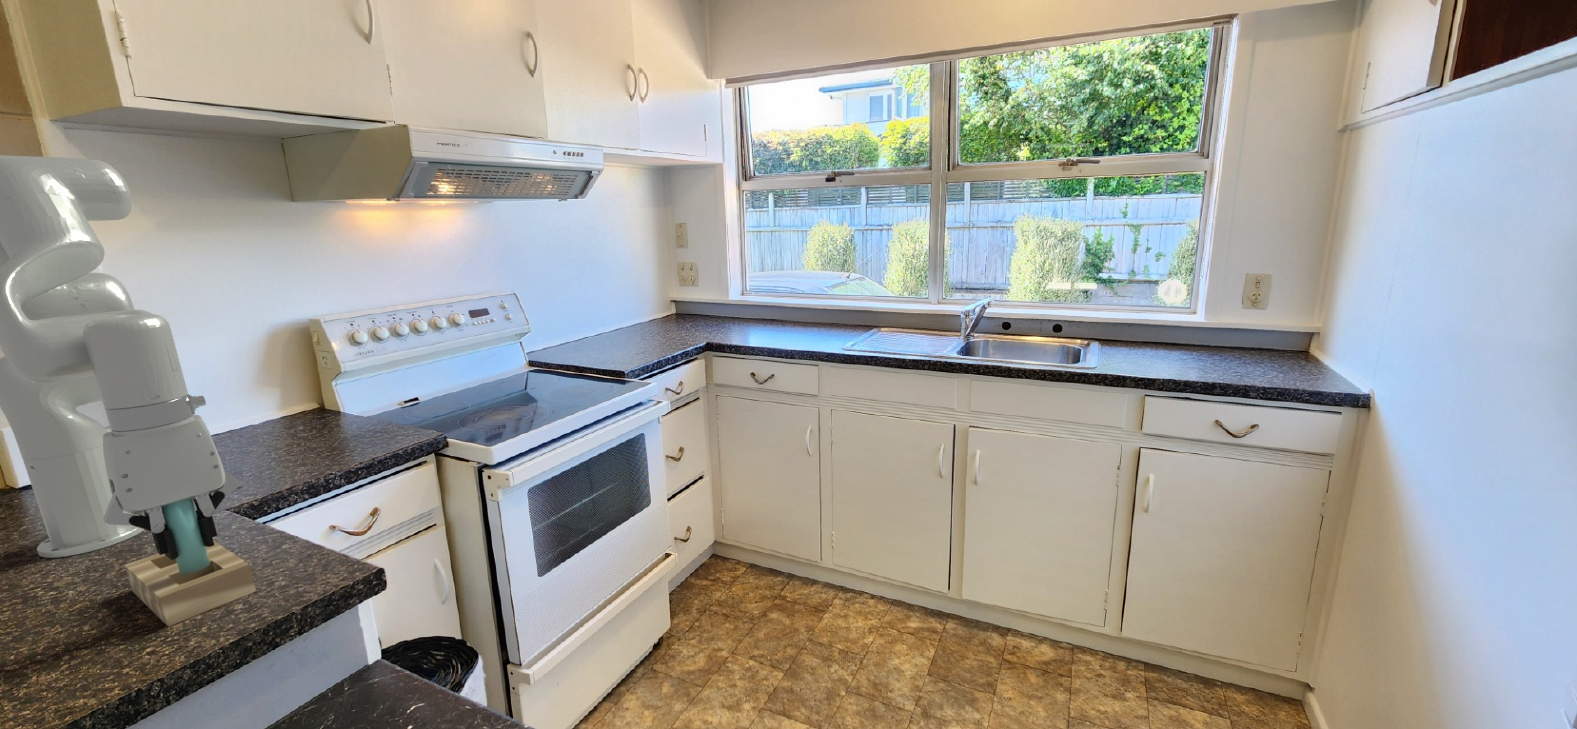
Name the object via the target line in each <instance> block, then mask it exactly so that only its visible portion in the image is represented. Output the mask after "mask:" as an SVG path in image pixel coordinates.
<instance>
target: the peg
mask: <svg viewBox="0 0 1577 729" xmlns="http://www.w3.org/2000/svg"><path fill="white" fill-rule="evenodd" d="M161 508H162V514H163V521H164V524H166V526H167V528H169V529H170V530H171V531H172V534H173V538H174V541H175V545H176V548H177V552H178V555H179V557H177V559H176V561H177V565H178V568H179V572H180V573H181V574H188V573H193V572H196V571H199V570H202V569H204V568H206V567H207V566H209V565H210V561H209V558H208V554H207V551H206V547H205V544H204V540H203V537H202V533H201V529H200V526H199V522H198V518H197V515H196V508H195V505H194V503H193V500H192V498H190V499H186V500H183V501H179V502H176V503H173V504H169V505H166V506H162V507H161Z"/></svg>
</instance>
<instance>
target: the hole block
mask: <svg viewBox="0 0 1577 729" xmlns="http://www.w3.org/2000/svg"><path fill="white" fill-rule="evenodd" d="M213 541H214V546H211V547H206V546H205V547H206V551H207V554H208V558H209V561H210V565H209V566H207V567H206V568H204V569H202V570H199V571H196V572H193V573H188V574H181V573H180V572H179V568H178V565H177V561H176V559H174V560H171V559H169V558H168V557H167V556H166V555H165V554H162V555H159V553H156V554H153V555H149V556H147V557H144V558H141V559H138V560H136V561H132V562H128V563H127V564H123V565H124V569H125V573H126V575H127V578H128V581H129V582H128V583H129V584H130V588H131V592H132V593H133V594H135V595H136V597H137V598H139V600H141V602H142V603H144V604H145V605H146V606H147V607H148V608H149V609H150V611H151V612H153V613H154V614H155V615H156V616H157V617H158V619H160V620H161V621H162V622H163V623H164V624H165V625H166V626H167V627H171V626H172V627H173V625H176V624H179V623H181V622H184V621H186V620H189V619H191V618H193V617H196V616H198V615H200V614H201V615H202V614H203V613H206V612H208V611H211V610H213V609H217V608H218V607H221V606H223V605H225V604H229V603H230V602H233V601H235V600H238V599H240V598H243V597H244V596H247V595H250V594H252V593H254V592H257V589H256V584H255V581H254V578H253V577H254V576H253V574H252V570H251V569H252V568H251V566H250V563H248V562H247V561H245V560H244V559H242V558H240V557H239V556H238V555H237V554H235V553H233V552H232V551H230V550H229V549H227V548H226V547H225V546H223V545H221V544H220V543H218V542H217V541H215V540H214V539H213Z"/></svg>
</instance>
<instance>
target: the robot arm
mask: <svg viewBox="0 0 1577 729" xmlns="http://www.w3.org/2000/svg"><path fill="white" fill-rule="evenodd" d="M132 207H133V198H132V194H131V190H130V188H129V186H128V183H127V182H126V180H125V179H124V177H123V176H122V175H121V173H119V172H118V171H117V170H116V169H115V167H113V166H111V165H110V164H109V163H107V162H105V161H103V160H99V159H91V158H90V159H89V158H77V157H61V156H59V157H57V156H31V155H30V156H27V155H26V156H25V155H6V154H5V155H4V154H3V155H1V154H0V349H1V352H2V353H3V355H4V356H2V357H0V409H1V411H2V413H3V415H4V416H5V418H6V421H7V422H8V424H9V425H10V426H9V427H10V428H11V432H12V433H13V435H14V439H15V441H16V444H17V447H18V450H19V453H20V455H21V459H22V461H23V464H24V466H25V470H26V473H27V475H28V478H29V482H30V484H31V488H32V491H33V495H34V497H35V500H36V503H37V506H38V509H39V512H40V515H41V518H42V521H43V524H44V527H45V530H46V533H47V536H48V538H46V539H45V540H44V541H42V542H40V543H39V545H38V546H37V548H36V551H37V554H38V556H39V557H42V558H49V559H53V558H54V559H55V558H57V559H58V558H67V557H70V556H71V557H72V556H77V555H81V554H85V553H86V554H87V553H90V552H94V551H97V550H98V551H99V550H102V549H104V548H108V547H111V546H114V545H117V544H118V543H122V542H125V541H127V540H129V539H131V538H133V537H135V536H137V535H138V534H140V533H142V532H144V531H145V530H147V531H149V532H151V535H152V539H153V542H154V545H155V549H156V552H157V554H159V555H162V554H165V555H166V556H167V557H168V558H169V559H171V560H174V559H177V557H179V555H178V552H177V548H176V545H175V541H174V538H173V534H172V531H171V530H170V529H169V528H167V526H166V523H165V520H164V517H163V513H162V508H161V507H162V506H166V505H169V504H173V503H176V502H179V501H183V500H186V499H190V498H192V500H193V504H194V507H195V511H196V515H197V518H198V522H199V526H200V529H201V533H202V537H203V540H204V544H205V546H206V547H211V546H214V541H215V540H214V538H215V537H218V533H217V529H216V525H215V521H214V517H213V516H214V515H215V513H216V509H217V508H218V507H219V505H220V504H221V503H222V502H223V501H224V499H225V497H227V495H230V494H231V493H233V491H234V490H236V489H237V488H238V487H240V485H241V482H240V480H238V479H237V478H236V477H235V476H234V475H232V474H231V473H230V472H229V471H227V469H225V468H224V465H223V463H222V460H221V457H220V454H219V452H218V450H217V447H216V445H215V443H214V442H215V441H214V440H213V437H212V436H211V433H210V431H209V429H208V427H207V425H206V423H205V421H204V420H203V418H202V417H201V416H200V415H199V414H196V409H198V408H200V407H205V406H206V405H207V402H206V398H205V397H204V396H203V395H198V396H196V395H193V396H192V395H191V394H189V393H188V388H187V384H186V381H185V377H184V372H183V369H182V367H181V363H180V362H181V361H180V359H179V354H178V351H177V347H176V343H175V339H174V336H173V333H172V330H171V329H172V328H171V326H170V323H169V321H168V320H167V319H166V318H165V317H163V316H162V315H159V314H156V313H155V314H154V313H151V312H149V311H147V310H144V309H143V310H142V309H135V307H134V304H133V301H132V298H131V296H130V294H129V292H128V291H127V288H126V287H125V285H123V283H122V282H121V281H120V280H119V279H117V278H116V277H115V276H113V275H110V274H107V273H104V272H93V271H94V270H96V269H97V268H98V267H100V265H101V264H102V263H103V261H104V259H105V249H104V246H103V244H102V242H101V240H100V239H99V237H98V236H97V234H96V233H95V231H94V229H93V227H92V226H91V224H90V223H89V222H98V221H99V222H100V221H101V222H102V221H106V222H107V221H121V220H124V219H125V218H126V217H128V216H129V215H130V213H131V212H132ZM97 402H102V404H103V407H104V410H105V414H106V417H107V420H108V424H109V427H110V430H111V431H109V432H108V431H107V430H106V428H105V427H104V425H102V423H100V422H99V421H97V420H96V419H93V418H92V417H90V416H87V415H85V414H83V413H81V412H79V411H78V410H76V408H78V407H81V406H84V405H88V404H91V403H92V404H93V403H97ZM138 513H139V514H138ZM140 513H142V515H141V514H140ZM213 540H214V541H213Z"/></svg>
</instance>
